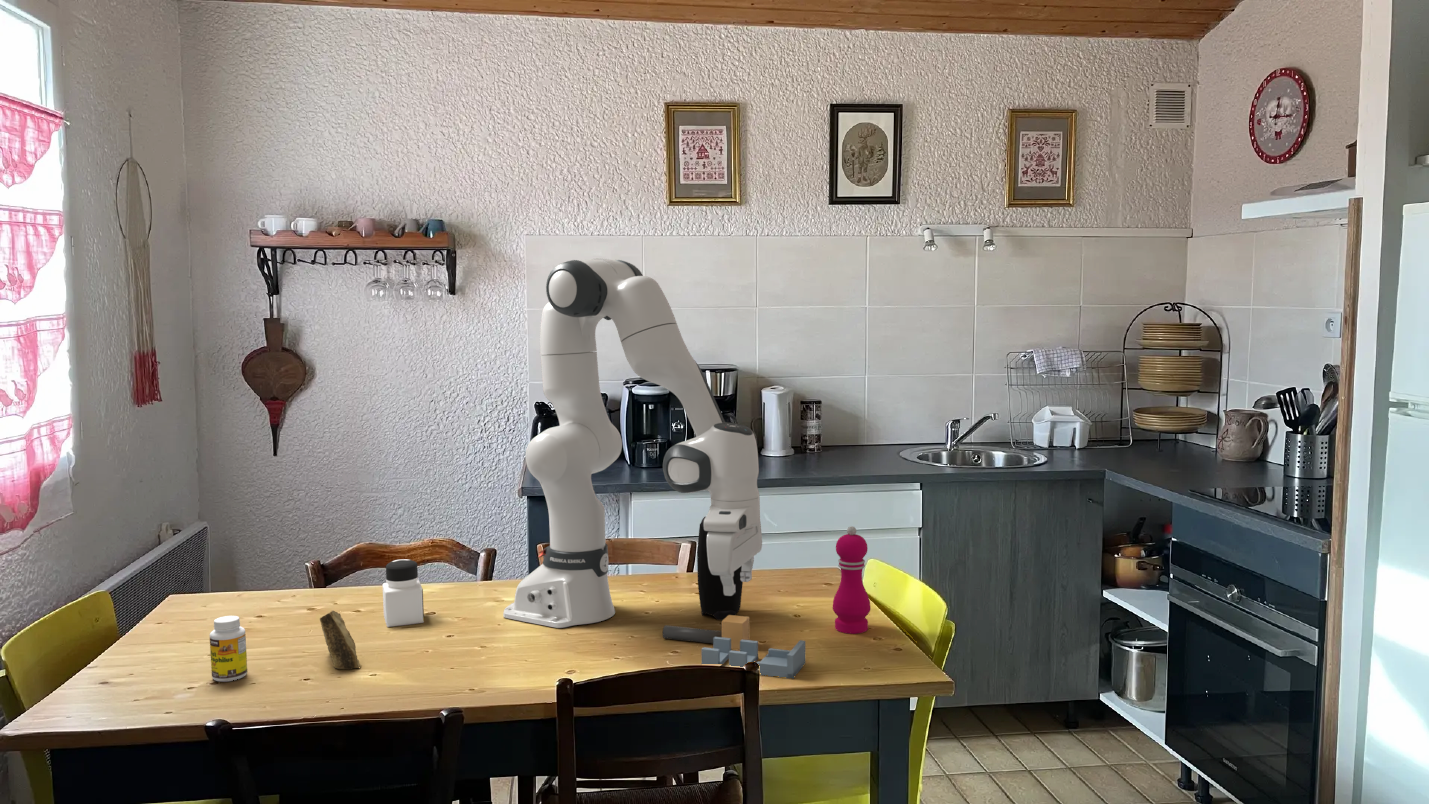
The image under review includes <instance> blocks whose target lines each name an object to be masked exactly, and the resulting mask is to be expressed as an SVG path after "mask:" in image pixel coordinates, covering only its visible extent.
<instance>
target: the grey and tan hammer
mask: <svg viewBox="0 0 1429 804" xmlns="http://www.w3.org/2000/svg"><path fill="white" fill-rule="evenodd" d="M662 637H663V639H666V640H667V639H668V640H677V641H684V642H685V641H687V642H694V643H705V644H713V638H714V637H723V638H731V650H734V651H740V641H741V640H751V638H750V616H745V615H744V616H743V615H728V616H727V617H726V618H725V619H723V620H721V630H714V629H704V628H703V629H702V628H694V627H688V626H687V627H685V626H684V627H683V626H676V625H664V626H663V629H662Z"/></svg>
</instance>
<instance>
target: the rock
mask: <svg viewBox="0 0 1429 804" xmlns="http://www.w3.org/2000/svg"><path fill="white" fill-rule="evenodd" d="M319 621H320V625H321V629H322V632H323V636H324V640H325V643H326V646H327V650H328V653H329V655H330V657H331V661H332V663H333V667H334V669H340V670H352V669H351V668H359V667H361V665H360V661H359V659H358V655H357V651H356V650H357V649H356V643H355V641H354V639H353V638H352V635H351V633H350V630H349V629H348V628H347V627H346V622H345V621H344V619H343V617H342V615H341V613H338V612H337V611H335V610H331V611H330V612H328V613H326V614H324V615H323V616H321V617H320V618H319ZM361 668H362V667H361ZM359 669H360V668H359Z"/></svg>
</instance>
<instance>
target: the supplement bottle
mask: <svg viewBox="0 0 1429 804" xmlns="http://www.w3.org/2000/svg"><path fill="white" fill-rule="evenodd" d="M246 638H247V637H246V629H245V628H244V627H243V626H241V621H240V616H237V615H224V616H219V617H218V618H215V619H214V620H213V630H212V631H211V632H210V633H209V650H210V651H209V653H210V665H211V666H210V667H211V668H210V669H211V677H212V679H213V680H214V681H215V682H233V680H234V681H238V680H240V679H242V678H244V677H245V676H246V675H247V673H248V660H247V659H248V656H247V641H246V640H247V639H246ZM237 679H238V680H237Z"/></svg>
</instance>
